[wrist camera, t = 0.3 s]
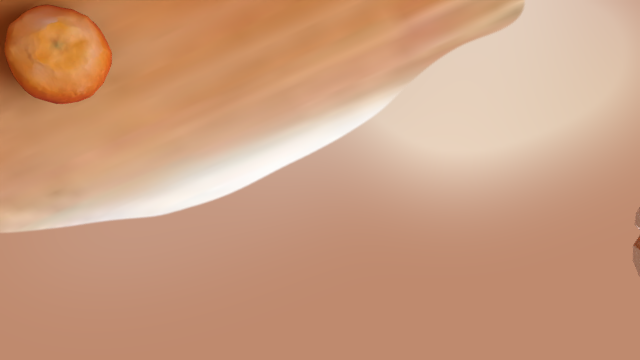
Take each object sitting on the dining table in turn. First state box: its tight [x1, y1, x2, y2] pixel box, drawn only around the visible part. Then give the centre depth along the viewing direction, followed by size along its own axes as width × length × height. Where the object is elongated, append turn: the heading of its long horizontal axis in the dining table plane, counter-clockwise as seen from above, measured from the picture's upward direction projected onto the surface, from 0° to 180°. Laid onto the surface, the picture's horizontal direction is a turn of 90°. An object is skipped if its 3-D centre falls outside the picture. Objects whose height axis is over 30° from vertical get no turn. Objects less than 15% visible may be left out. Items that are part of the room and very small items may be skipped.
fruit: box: [4, 5, 112, 104], centre depth 47 cm, size 8×8×8 cm
